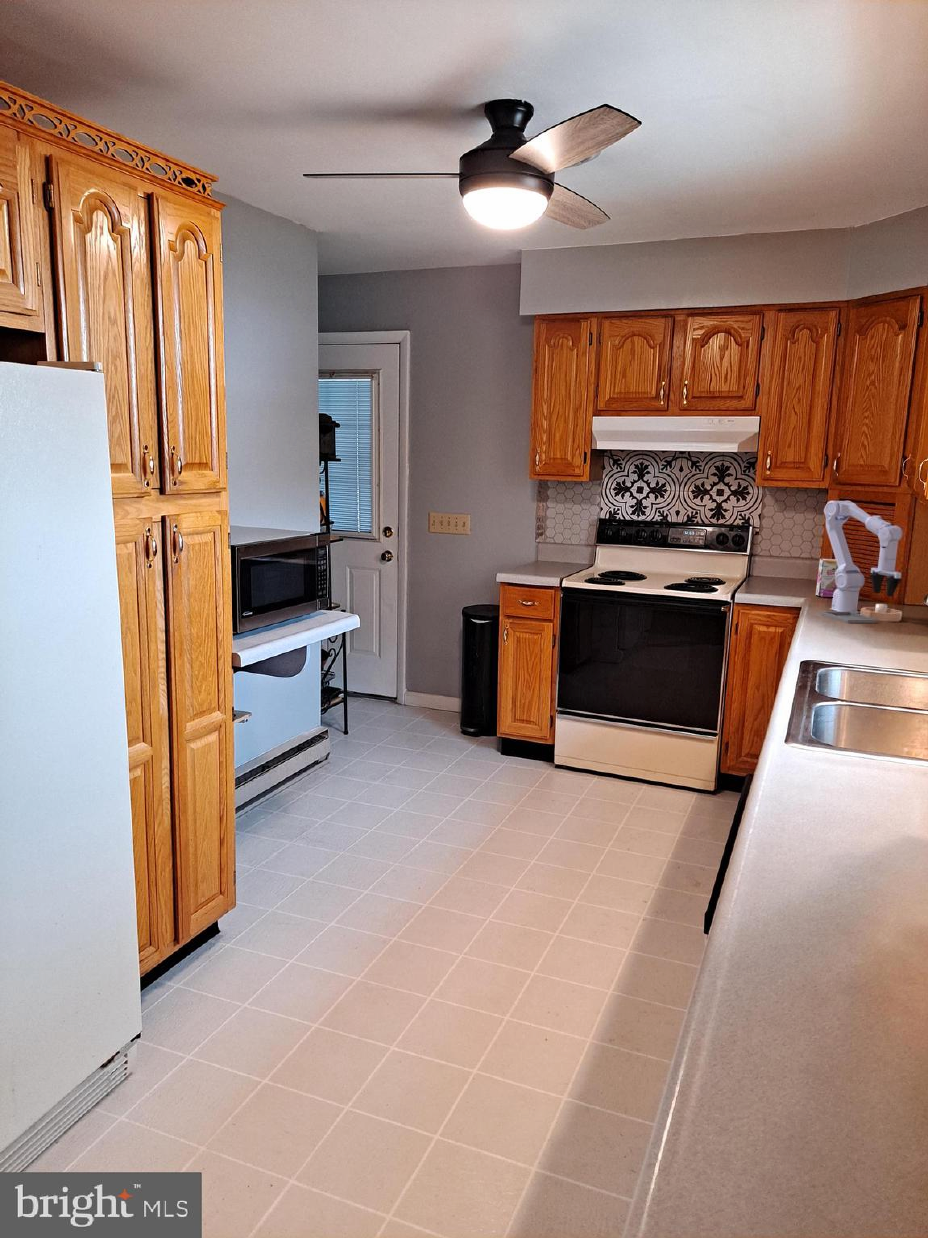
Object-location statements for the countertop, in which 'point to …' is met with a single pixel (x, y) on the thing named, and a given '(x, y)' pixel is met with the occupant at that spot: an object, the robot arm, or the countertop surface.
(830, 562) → the candy bar box
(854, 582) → the robot arm
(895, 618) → the terracotta bowl
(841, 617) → the parts tray
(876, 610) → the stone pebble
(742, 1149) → the countertop surface
